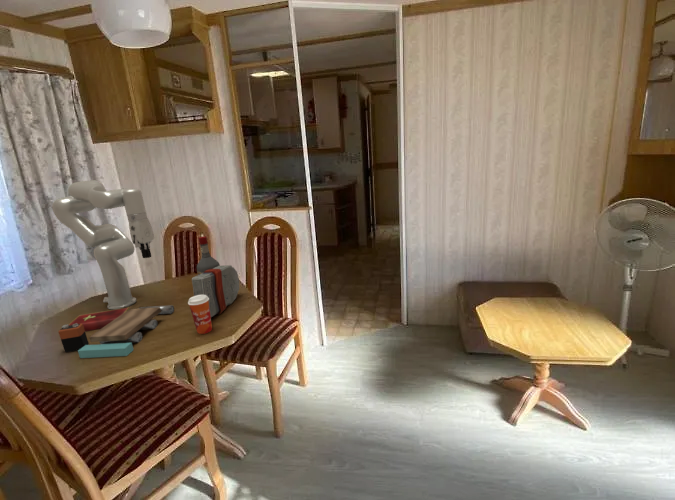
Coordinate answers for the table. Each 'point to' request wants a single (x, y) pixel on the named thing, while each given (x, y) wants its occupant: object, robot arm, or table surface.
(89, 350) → the block
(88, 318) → the hardcover book
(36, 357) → the table surface
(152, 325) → the front roller
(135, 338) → the roller
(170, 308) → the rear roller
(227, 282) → the decorative stone tablet
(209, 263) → the liquor
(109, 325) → the walnut slab
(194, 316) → the paper cup
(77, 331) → the battery
